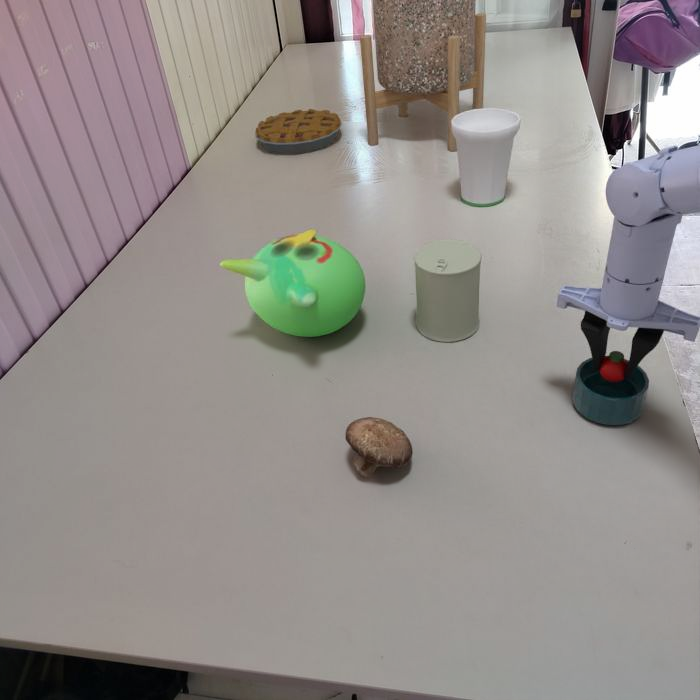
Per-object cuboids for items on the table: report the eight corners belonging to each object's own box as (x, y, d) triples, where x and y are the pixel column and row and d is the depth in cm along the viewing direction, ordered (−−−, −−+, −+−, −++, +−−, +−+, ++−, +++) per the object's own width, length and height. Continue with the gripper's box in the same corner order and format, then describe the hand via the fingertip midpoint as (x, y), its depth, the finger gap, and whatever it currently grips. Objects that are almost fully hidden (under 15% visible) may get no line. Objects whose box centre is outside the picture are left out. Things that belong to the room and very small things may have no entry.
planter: (457, 152, 144) (457, -9, 124) (366, 146, 153) (353, -5, 133) (484, 118, 159) (488, -30, 139) (400, 114, 168) (392, -25, 148)
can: (407, 336, 92) (404, 265, 85) (426, 301, 99) (425, 232, 91) (470, 347, 89) (472, 274, 81) (485, 310, 95) (489, 239, 88)
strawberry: (629, 374, 75) (635, 351, 73) (621, 390, 73) (627, 367, 71) (602, 366, 77) (606, 343, 75) (593, 382, 75) (598, 358, 73)
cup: (485, 178, 132) (488, 103, 122) (529, 197, 123) (535, 118, 113) (437, 197, 127) (437, 120, 117) (479, 218, 118) (482, 137, 109)
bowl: (643, 390, 79) (650, 362, 76) (639, 434, 74) (646, 406, 71) (576, 377, 82) (581, 350, 79) (567, 419, 76) (571, 392, 74)
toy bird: (387, 310, 98) (381, 224, 89) (327, 374, 87) (312, 284, 78) (294, 284, 106) (279, 203, 97) (228, 340, 96) (205, 256, 87)
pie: (341, 152, 150) (339, 131, 147) (251, 160, 152) (246, 140, 149) (344, 121, 167) (342, 101, 164) (263, 128, 169) (259, 109, 166)
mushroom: (342, 480, 68) (361, 427, 67) (329, 451, 76) (346, 403, 75) (408, 496, 70) (428, 444, 69) (389, 466, 78) (406, 419, 77)
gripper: (552, 272, 67) (540, 370, 75) (703, 307, 60) (671, 411, 68) (574, 242, 71) (561, 337, 80) (718, 271, 64) (686, 372, 73)
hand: (613, 369), depth 74 cm, fingers closed on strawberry, 3 cm apart
